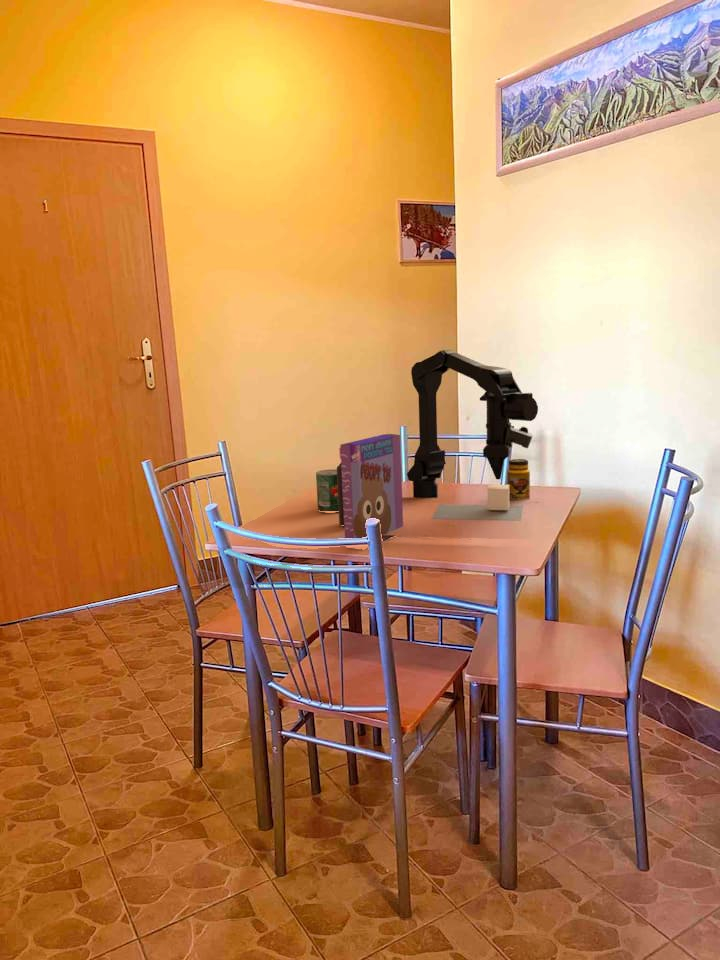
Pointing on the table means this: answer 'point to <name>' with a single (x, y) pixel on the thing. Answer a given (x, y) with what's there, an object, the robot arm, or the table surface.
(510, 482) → the condiment
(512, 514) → the base plate
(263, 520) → the table surface
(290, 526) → the table surface
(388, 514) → the cereal box
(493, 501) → the cream colored cube
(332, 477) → the canned tomato
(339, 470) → the bottle
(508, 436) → the robot arm
